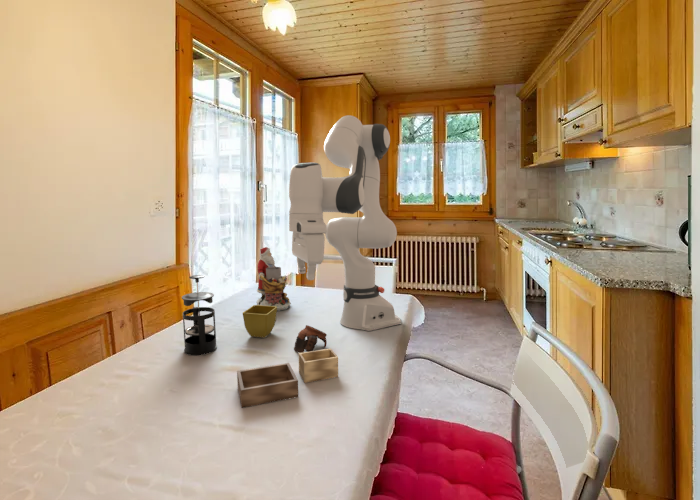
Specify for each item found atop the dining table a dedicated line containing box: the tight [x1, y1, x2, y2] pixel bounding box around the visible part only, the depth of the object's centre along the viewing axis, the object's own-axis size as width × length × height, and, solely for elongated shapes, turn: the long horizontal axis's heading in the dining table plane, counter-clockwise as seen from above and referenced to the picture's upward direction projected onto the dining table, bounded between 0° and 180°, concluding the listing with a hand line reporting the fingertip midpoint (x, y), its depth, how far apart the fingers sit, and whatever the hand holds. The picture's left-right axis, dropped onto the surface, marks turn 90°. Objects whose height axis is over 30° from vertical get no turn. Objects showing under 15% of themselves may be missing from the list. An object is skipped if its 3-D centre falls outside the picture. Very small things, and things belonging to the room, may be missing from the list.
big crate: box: [236, 362, 299, 409], centre depth 92 cm, size 13×10×4 cm
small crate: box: [298, 348, 339, 384], centre depth 100 cm, size 9×6×6 cm, turn 111°
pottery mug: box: [293, 325, 328, 354], centre depth 116 cm, size 12×10×8 cm
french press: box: [181, 274, 218, 357], centre depth 115 cm, size 12×9×23 cm
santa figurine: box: [256, 246, 292, 312], centre depth 160 cm, size 17×14×25 cm
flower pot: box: [242, 304, 278, 339], centre depth 128 cm, size 9×9×9 cm
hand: (306, 276), depth 102 cm, fingers open, 8 cm apart
